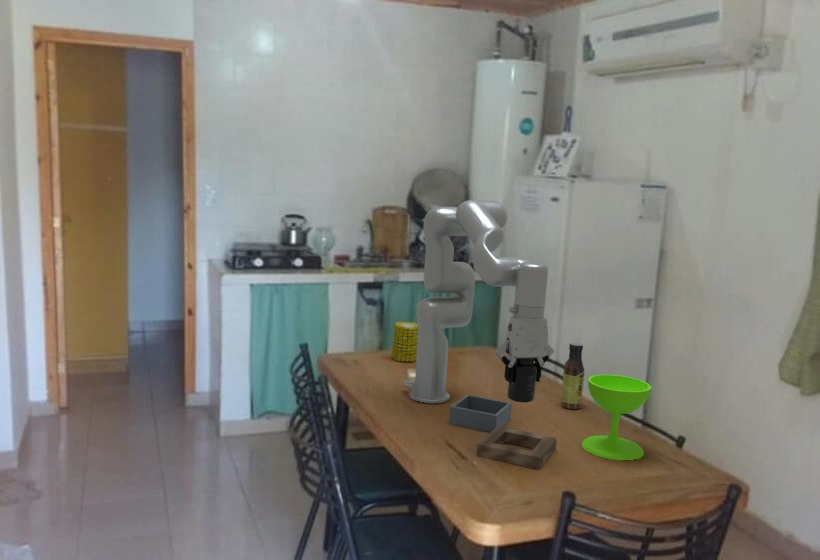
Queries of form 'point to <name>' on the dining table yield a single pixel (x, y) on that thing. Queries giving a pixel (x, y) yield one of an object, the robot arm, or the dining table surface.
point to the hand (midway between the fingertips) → (522, 380)
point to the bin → (480, 413)
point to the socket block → (534, 458)
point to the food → (405, 341)
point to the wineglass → (616, 414)
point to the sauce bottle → (573, 378)
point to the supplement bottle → (523, 380)
